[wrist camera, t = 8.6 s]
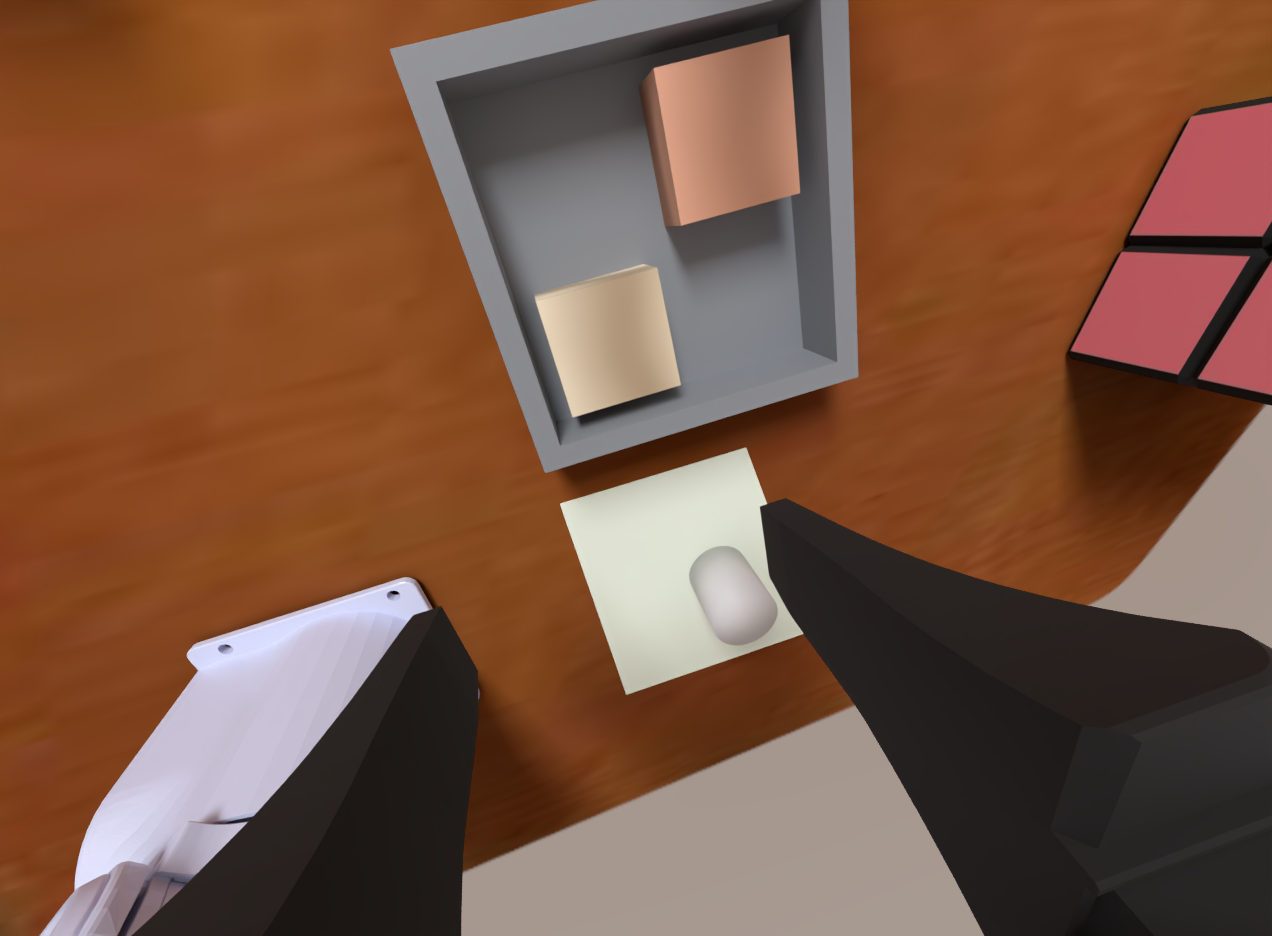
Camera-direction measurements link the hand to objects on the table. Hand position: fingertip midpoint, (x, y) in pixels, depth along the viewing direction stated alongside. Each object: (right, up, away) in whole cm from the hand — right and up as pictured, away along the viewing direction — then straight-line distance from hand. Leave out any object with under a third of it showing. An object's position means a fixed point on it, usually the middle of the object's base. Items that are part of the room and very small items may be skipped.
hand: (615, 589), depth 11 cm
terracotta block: (+3, +13, +5) cm, 15 cm away
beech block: (-1, +8, +7) cm, 11 cm away
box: (+1, +11, +7) cm, 13 cm away
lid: (+4, -2, +15) cm, 15 cm away
